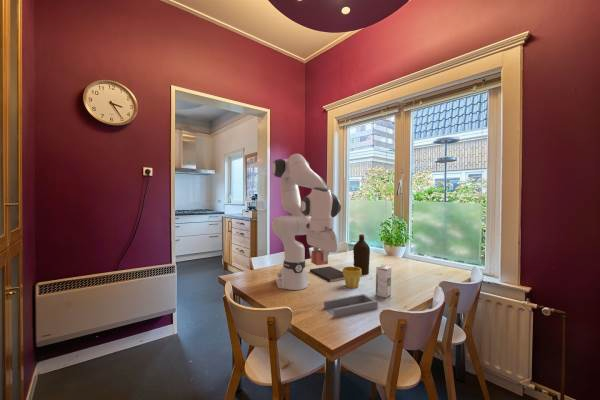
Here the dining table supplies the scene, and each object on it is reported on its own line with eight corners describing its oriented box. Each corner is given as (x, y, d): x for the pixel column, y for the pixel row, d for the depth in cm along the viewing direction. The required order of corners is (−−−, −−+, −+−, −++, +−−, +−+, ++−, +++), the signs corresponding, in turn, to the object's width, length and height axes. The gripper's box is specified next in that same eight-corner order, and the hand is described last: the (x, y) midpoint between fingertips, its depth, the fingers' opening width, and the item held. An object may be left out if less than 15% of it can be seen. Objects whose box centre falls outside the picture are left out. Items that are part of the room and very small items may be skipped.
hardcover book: (329, 269, 173) (329, 266, 173) (351, 279, 153) (351, 275, 153) (309, 272, 166) (309, 269, 166) (329, 283, 145) (329, 279, 145)
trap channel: (323, 310, 108) (323, 301, 108) (363, 302, 117) (363, 293, 117) (335, 320, 100) (335, 309, 100) (377, 310, 108) (377, 301, 108)
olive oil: (373, 273, 163) (373, 234, 163) (362, 276, 157) (362, 236, 157) (360, 269, 172) (360, 233, 172) (349, 272, 165) (350, 234, 165)
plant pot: (339, 283, 142) (339, 266, 142) (356, 282, 145) (356, 265, 145) (347, 290, 132) (347, 271, 132) (365, 288, 135) (365, 270, 135)
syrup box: (379, 292, 130) (380, 264, 130) (391, 295, 126) (391, 266, 126) (375, 295, 125) (375, 266, 125) (387, 298, 122) (387, 268, 122)
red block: (321, 261, 108) (311, 262, 105) (321, 249, 108) (311, 250, 105) (327, 264, 103) (317, 265, 101) (327, 251, 103) (317, 253, 101)
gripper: (341, 228, 96) (341, 264, 96) (316, 223, 115) (316, 253, 115) (326, 229, 94) (326, 266, 94) (304, 224, 112) (303, 254, 112)
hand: (320, 259), depth 105 cm, fingers closed on red block, 5 cm apart
